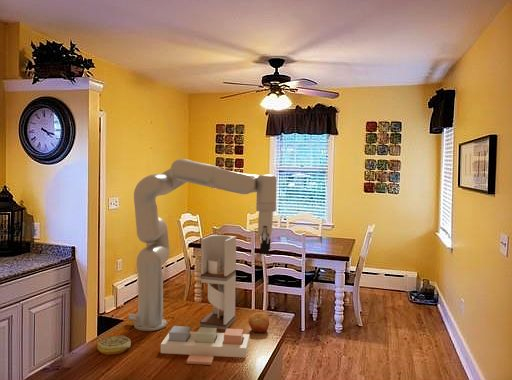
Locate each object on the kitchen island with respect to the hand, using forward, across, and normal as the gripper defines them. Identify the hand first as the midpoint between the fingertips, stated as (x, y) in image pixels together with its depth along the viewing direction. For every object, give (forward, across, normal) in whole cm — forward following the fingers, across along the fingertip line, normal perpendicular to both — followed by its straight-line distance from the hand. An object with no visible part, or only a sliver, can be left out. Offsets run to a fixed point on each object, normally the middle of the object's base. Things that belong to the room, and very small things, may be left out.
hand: (265, 251), depth 164 cm
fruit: (+31, 0, -2) cm, 31 cm away
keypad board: (+31, +18, -19) cm, 41 cm away
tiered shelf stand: (+31, -6, -19) cm, 37 cm away
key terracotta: (+28, +18, -10) cm, 35 cm away
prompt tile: (+31, +28, -19) cm, 46 cm away
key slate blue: (+28, +18, -29) cm, 44 cm away
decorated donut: (+32, +23, -50) cm, 63 cm away
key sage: (+28, +18, -19) cm, 38 cm away
